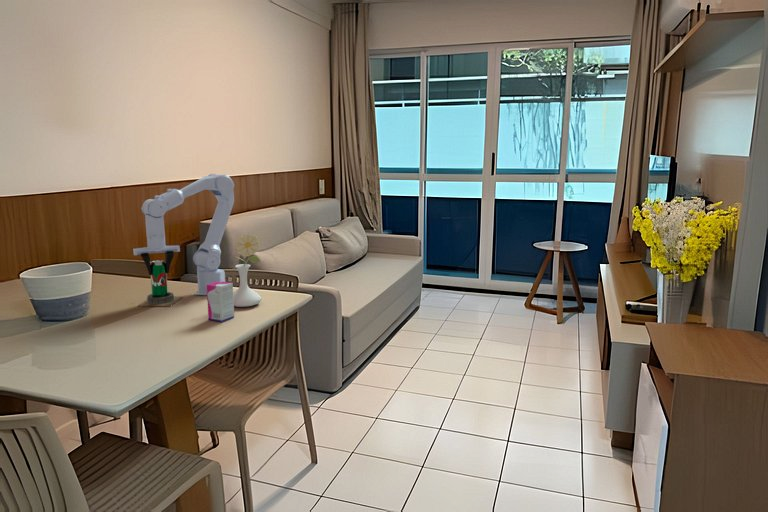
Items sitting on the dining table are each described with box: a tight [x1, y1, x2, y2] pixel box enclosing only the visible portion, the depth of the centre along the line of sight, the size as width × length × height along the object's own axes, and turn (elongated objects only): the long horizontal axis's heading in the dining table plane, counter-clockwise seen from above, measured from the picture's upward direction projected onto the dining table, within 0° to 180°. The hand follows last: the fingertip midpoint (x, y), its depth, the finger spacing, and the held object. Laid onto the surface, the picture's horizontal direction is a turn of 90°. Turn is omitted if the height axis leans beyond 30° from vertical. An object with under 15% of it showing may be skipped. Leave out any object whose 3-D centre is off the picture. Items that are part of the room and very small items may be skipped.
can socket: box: [137, 291, 184, 308], centre depth 183 cm, size 11×11×2 cm
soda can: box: [150, 259, 169, 297], centre depth 181 cm, size 5×5×12 cm
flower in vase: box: [233, 233, 262, 308], centre depth 178 cm, size 13×11×25 cm
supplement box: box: [206, 281, 235, 323], centre depth 165 cm, size 6×6×12 cm
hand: (158, 273), depth 181 cm, fingers closed on soda can, 5 cm apart
